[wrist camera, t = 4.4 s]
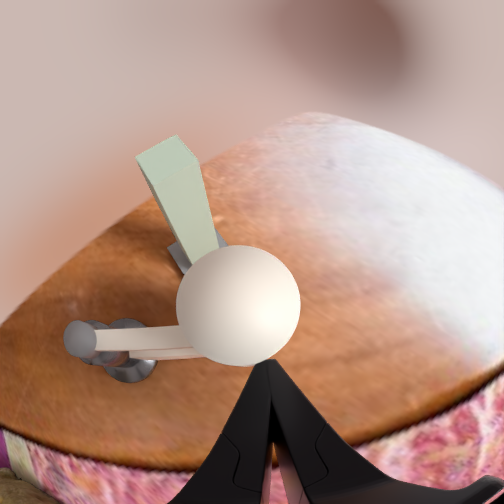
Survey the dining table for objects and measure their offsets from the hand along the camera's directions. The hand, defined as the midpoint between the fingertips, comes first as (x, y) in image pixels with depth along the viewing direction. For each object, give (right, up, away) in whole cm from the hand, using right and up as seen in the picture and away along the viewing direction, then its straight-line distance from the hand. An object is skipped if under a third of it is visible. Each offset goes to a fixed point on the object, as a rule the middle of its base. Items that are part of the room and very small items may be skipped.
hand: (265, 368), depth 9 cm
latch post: (-4, +4, +11) cm, 12 cm away
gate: (-4, -2, +8) cm, 9 cm away
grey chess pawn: (-9, -3, +8) cm, 12 cm away
